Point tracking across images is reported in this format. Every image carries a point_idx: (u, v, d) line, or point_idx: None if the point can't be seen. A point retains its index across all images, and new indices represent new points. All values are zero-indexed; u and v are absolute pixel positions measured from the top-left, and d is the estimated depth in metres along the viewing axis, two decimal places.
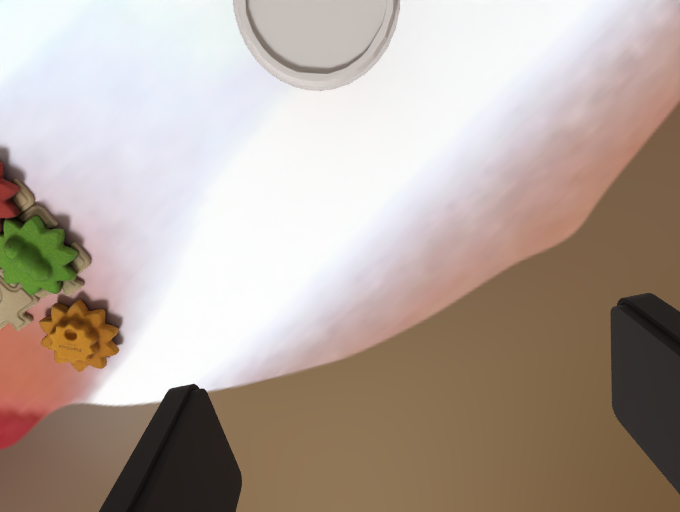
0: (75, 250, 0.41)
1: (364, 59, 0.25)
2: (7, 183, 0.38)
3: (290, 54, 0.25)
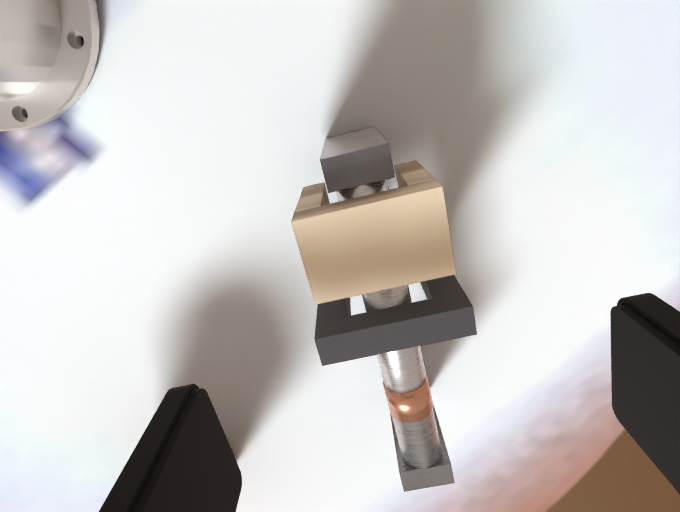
0: None
1: None
2: None
3: None
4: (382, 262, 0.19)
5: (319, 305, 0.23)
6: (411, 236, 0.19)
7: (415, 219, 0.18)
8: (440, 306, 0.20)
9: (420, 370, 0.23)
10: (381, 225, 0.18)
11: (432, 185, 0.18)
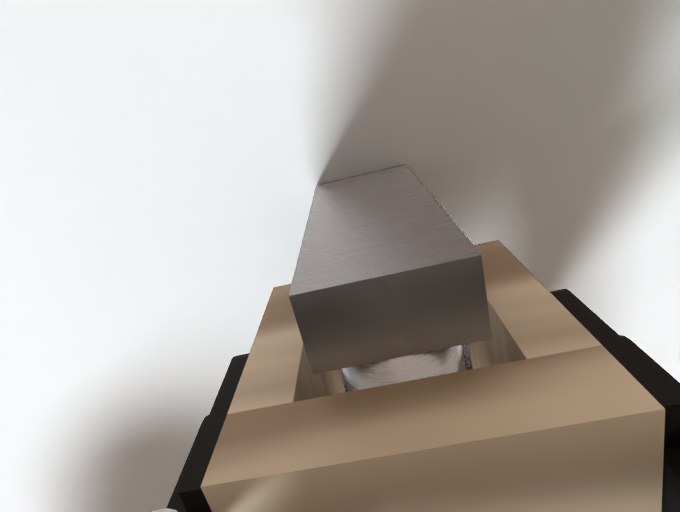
0: None
1: None
2: None
3: None
4: None
5: None
6: None
7: (566, 487, 0.06)
8: None
9: None
10: (464, 498, 0.06)
11: (615, 385, 0.06)
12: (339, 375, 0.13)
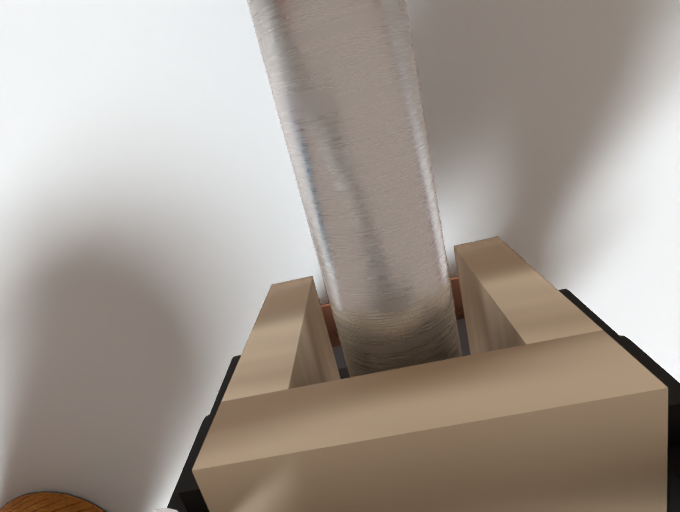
0: None
1: None
2: None
3: None
4: None
5: None
6: None
7: (567, 472, 0.06)
8: None
9: None
10: (463, 483, 0.06)
11: (617, 366, 0.06)
12: (337, 374, 0.13)
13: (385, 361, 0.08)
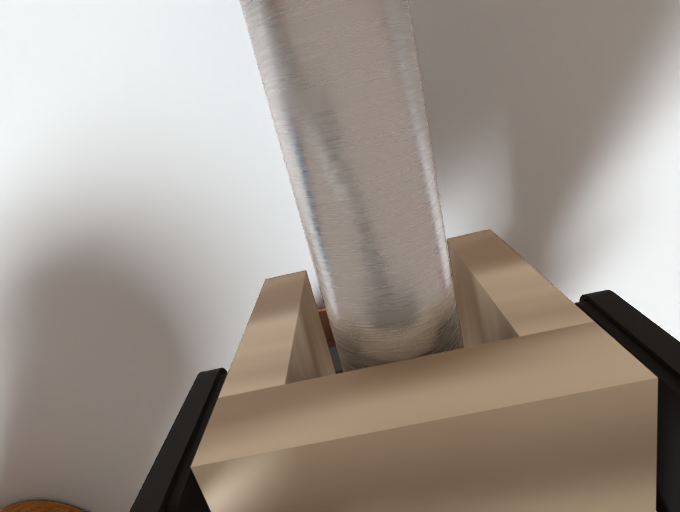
0: None
1: None
2: None
3: None
4: None
5: None
6: (541, 501, 0.06)
7: (560, 461, 0.06)
8: None
9: None
10: (459, 474, 0.06)
11: (608, 357, 0.06)
12: (332, 368, 0.13)
13: None
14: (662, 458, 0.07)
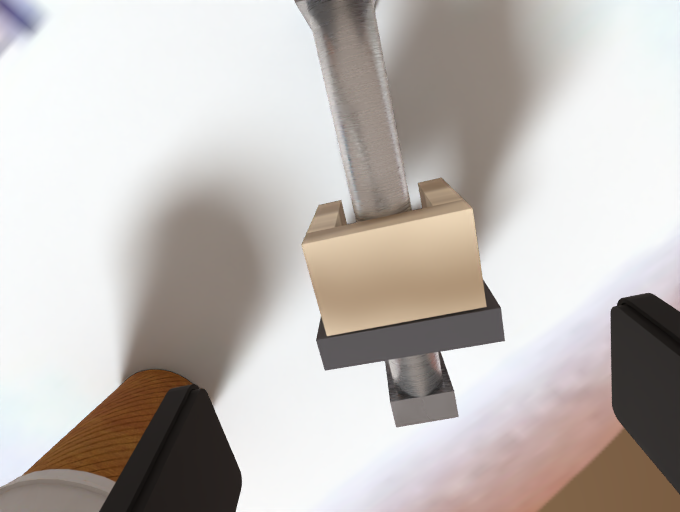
0: None
1: None
2: None
3: None
4: (402, 291, 0.17)
5: None
6: (435, 263, 0.16)
7: (440, 244, 0.16)
8: None
9: None
10: (402, 250, 0.16)
11: (460, 206, 0.16)
12: None
13: None
14: None
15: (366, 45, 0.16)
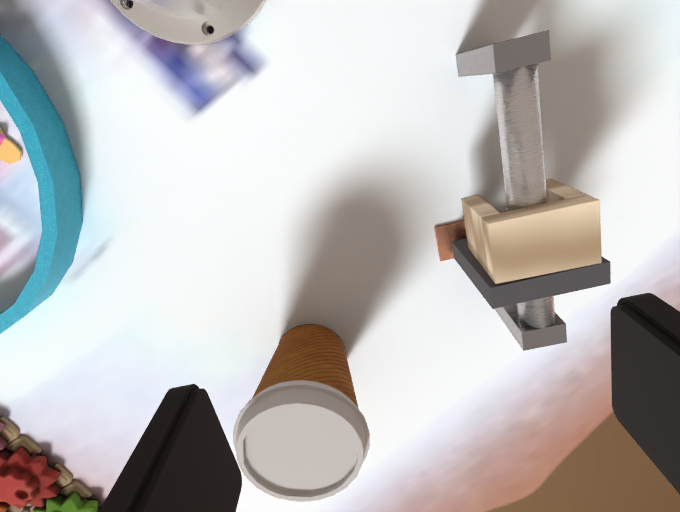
0: None
1: (339, 489, 0.30)
2: (50, 473, 0.44)
3: (280, 481, 0.31)
4: (549, 253, 0.26)
5: (474, 267, 0.30)
6: (572, 235, 0.26)
7: (577, 223, 0.26)
8: None
9: None
10: (552, 226, 0.26)
11: (589, 199, 0.26)
12: None
13: None
14: None
15: (535, 98, 0.25)
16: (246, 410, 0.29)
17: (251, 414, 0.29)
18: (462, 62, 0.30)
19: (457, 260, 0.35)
